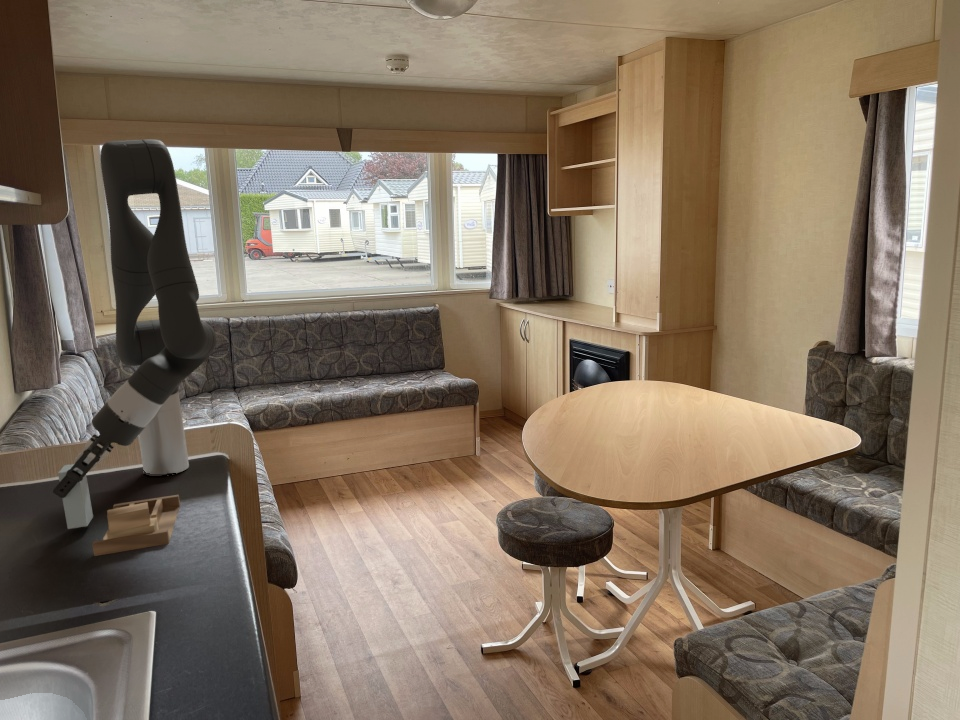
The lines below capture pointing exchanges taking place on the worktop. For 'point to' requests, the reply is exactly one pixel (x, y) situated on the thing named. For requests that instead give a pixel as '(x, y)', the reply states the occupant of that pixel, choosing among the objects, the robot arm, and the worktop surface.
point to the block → (77, 501)
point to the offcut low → (135, 530)
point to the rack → (166, 519)
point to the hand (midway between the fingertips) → (62, 489)
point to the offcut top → (128, 517)
